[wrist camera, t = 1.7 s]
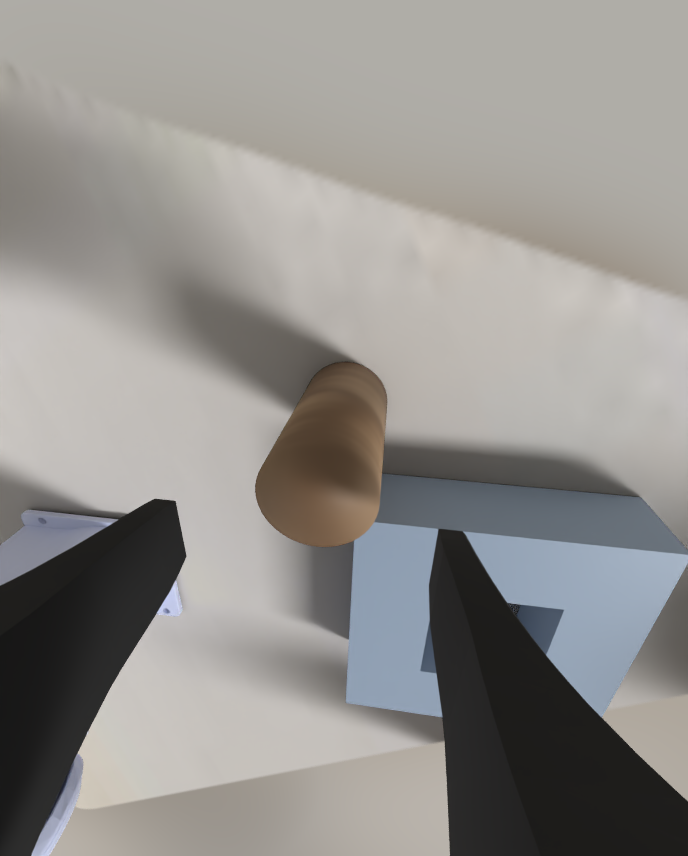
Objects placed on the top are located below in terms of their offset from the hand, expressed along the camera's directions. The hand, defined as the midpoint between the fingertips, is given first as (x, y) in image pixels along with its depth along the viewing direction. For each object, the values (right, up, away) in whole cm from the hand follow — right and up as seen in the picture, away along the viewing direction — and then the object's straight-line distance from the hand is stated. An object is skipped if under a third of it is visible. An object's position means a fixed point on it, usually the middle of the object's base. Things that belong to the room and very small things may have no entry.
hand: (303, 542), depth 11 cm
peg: (+1, +4, +9) cm, 10 cm away
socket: (+9, -6, +13) cm, 17 cm away
